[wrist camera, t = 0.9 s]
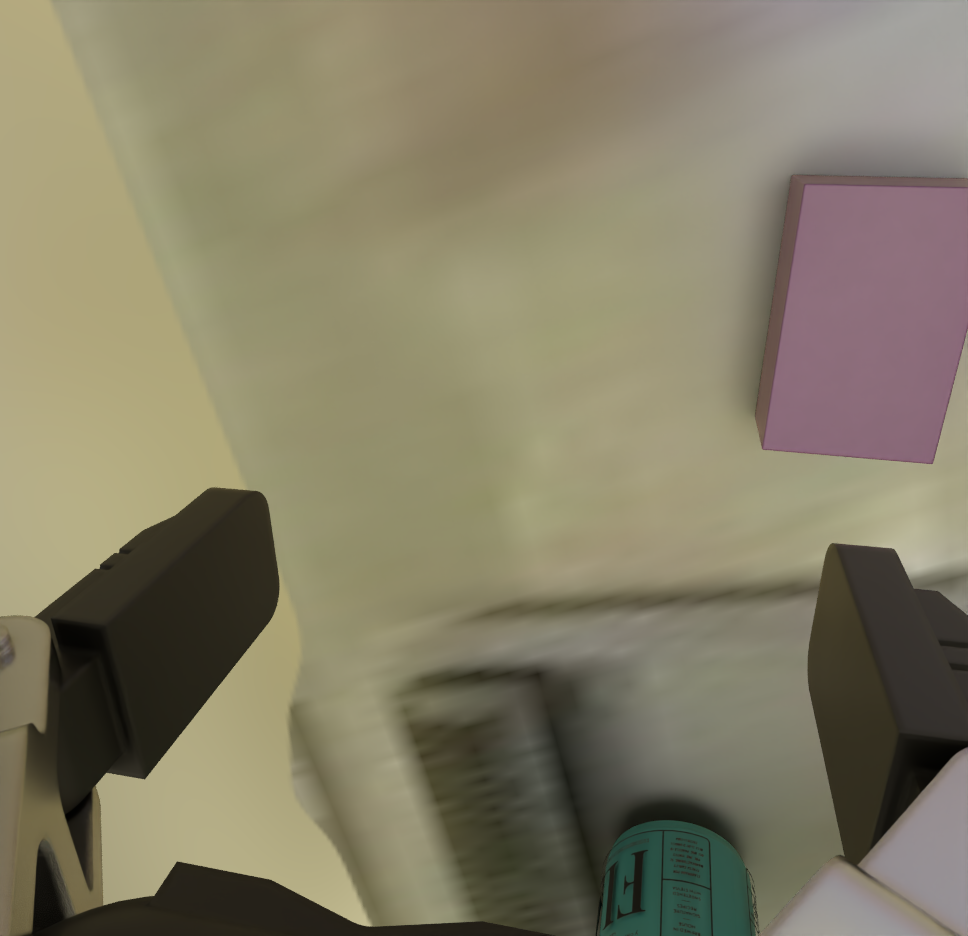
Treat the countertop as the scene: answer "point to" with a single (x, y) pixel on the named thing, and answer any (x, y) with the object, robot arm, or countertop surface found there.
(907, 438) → the plum block
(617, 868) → the beverage bottle
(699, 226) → the countertop surface
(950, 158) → the countertop surface
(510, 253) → the countertop surface
